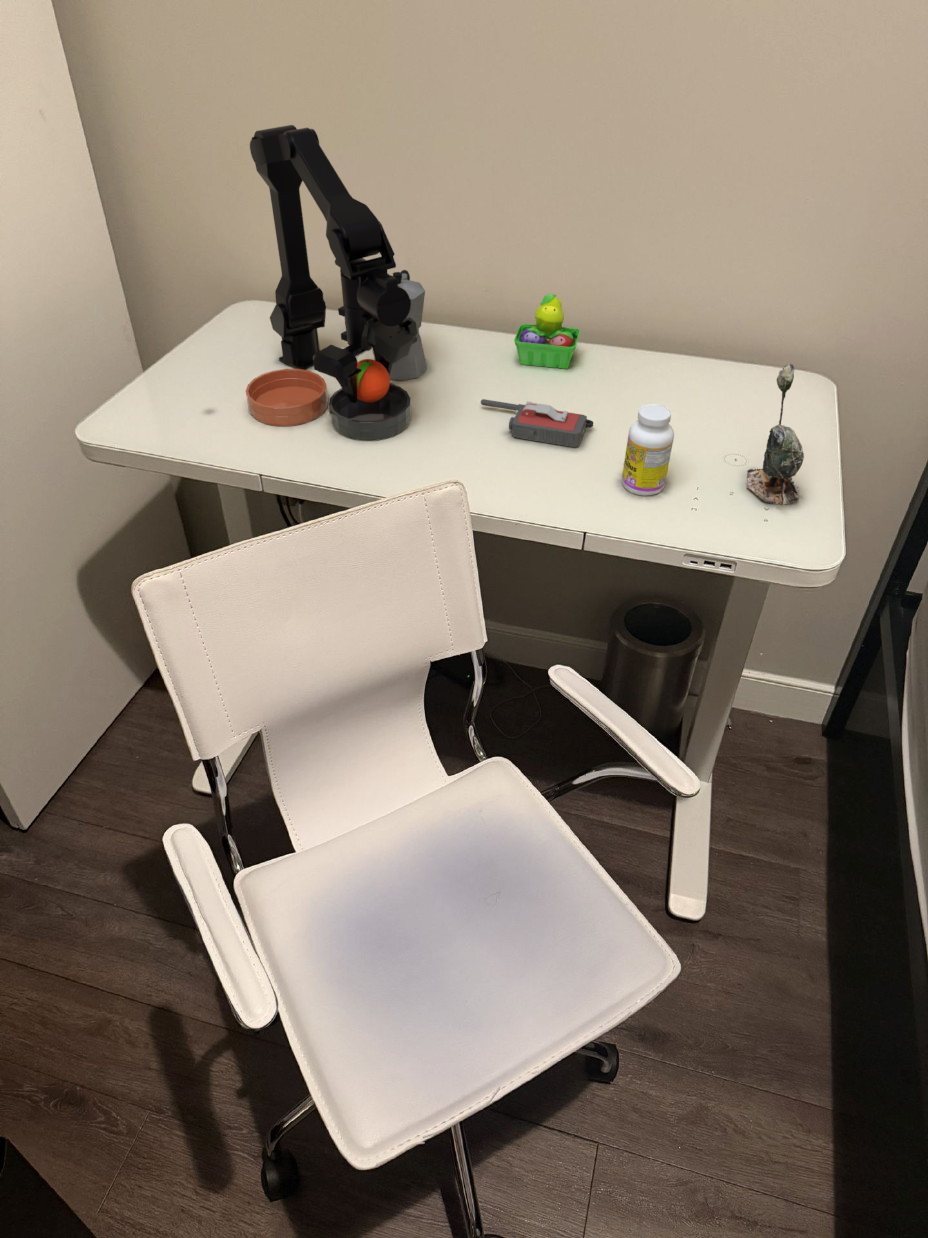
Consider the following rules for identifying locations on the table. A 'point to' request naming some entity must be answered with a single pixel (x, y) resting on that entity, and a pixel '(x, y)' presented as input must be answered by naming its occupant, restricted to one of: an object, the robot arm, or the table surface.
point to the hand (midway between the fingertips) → (369, 392)
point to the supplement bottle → (648, 450)
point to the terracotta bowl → (287, 397)
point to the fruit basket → (547, 337)
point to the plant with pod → (779, 457)
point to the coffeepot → (415, 359)
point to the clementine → (372, 381)
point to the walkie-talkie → (544, 423)
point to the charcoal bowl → (371, 415)
